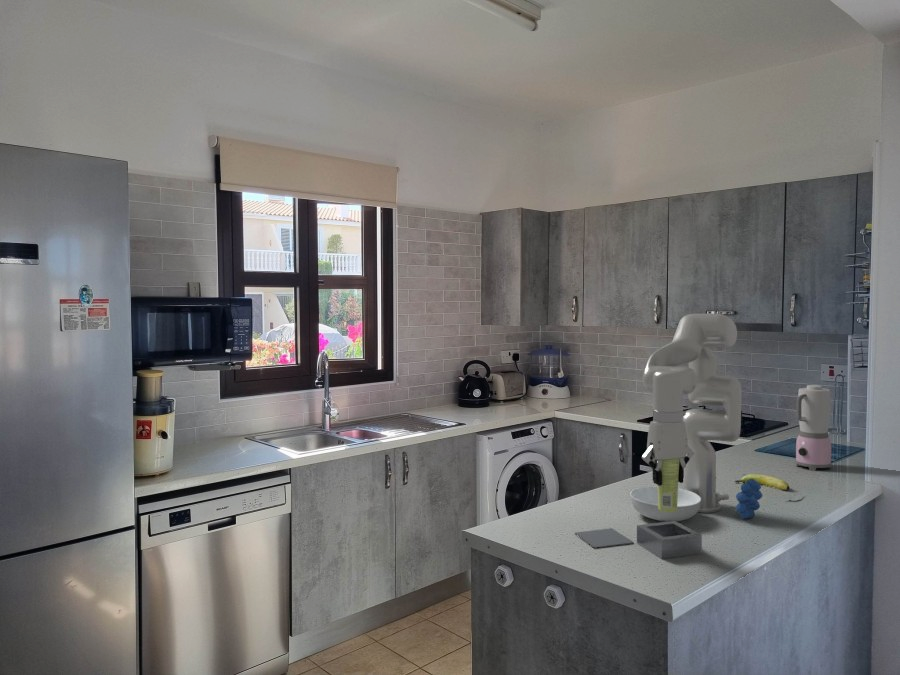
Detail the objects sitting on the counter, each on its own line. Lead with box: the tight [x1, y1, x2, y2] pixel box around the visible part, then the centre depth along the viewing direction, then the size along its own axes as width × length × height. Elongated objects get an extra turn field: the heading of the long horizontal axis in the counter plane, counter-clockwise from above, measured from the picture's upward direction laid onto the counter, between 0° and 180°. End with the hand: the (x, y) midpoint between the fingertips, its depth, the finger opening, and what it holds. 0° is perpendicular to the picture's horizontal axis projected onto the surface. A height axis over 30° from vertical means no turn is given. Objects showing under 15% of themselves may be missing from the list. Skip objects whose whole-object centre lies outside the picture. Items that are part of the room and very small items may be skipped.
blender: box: [795, 384, 832, 471], centre depth 263 cm, size 16×12×32 cm
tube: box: [657, 458, 679, 512], centre depth 182 cm, size 6×5×20 cm
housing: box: [636, 521, 703, 560], centre depth 182 cm, size 12×12×5 cm
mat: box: [574, 527, 634, 549], centre depth 190 cm, size 12×12×1 cm
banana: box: [734, 473, 790, 491], centre depth 240 cm, size 35×27×4 cm
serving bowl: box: [629, 485, 701, 522], centre depth 208 cm, size 21×21×7 cm
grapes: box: [735, 478, 763, 520], centre depth 206 cm, size 12×7×12 cm, turn 125°
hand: (668, 482), depth 182 cm, fingers closed on tube, 5 cm apart
